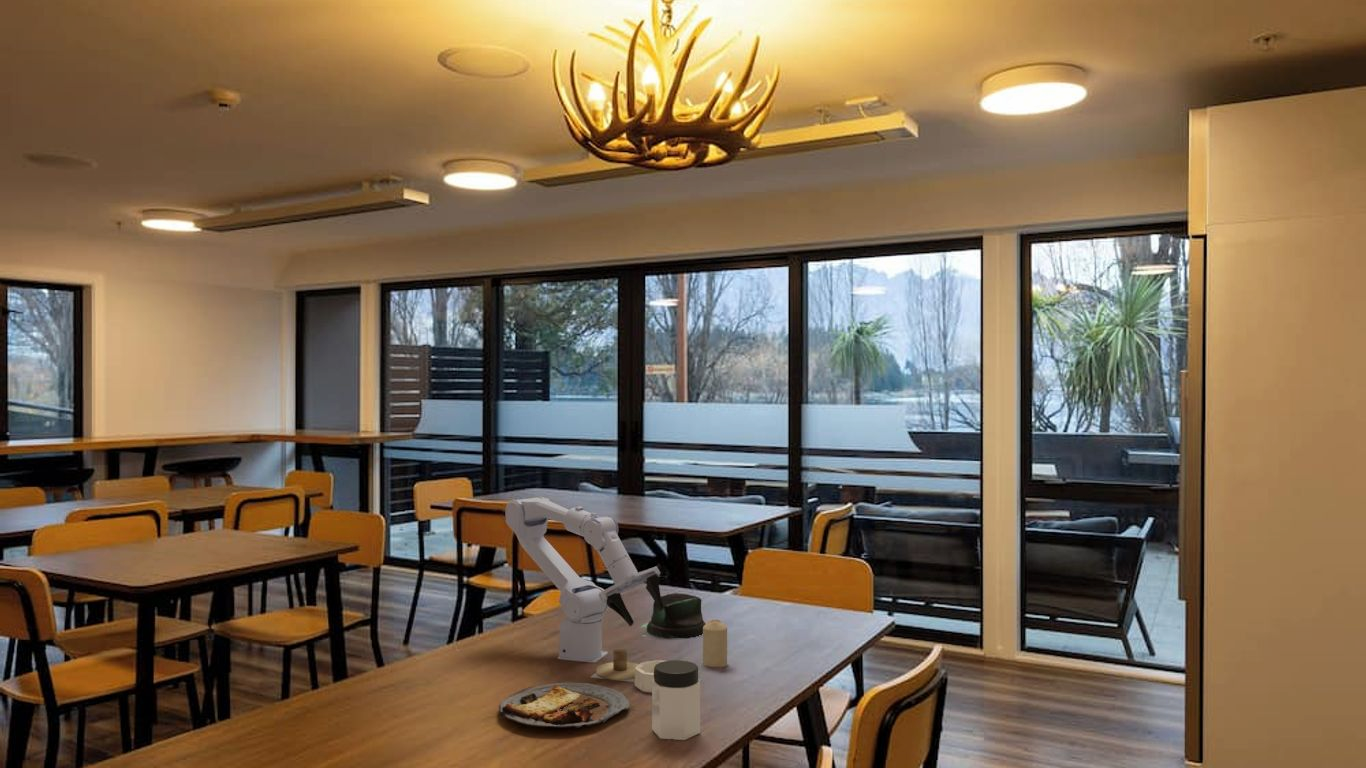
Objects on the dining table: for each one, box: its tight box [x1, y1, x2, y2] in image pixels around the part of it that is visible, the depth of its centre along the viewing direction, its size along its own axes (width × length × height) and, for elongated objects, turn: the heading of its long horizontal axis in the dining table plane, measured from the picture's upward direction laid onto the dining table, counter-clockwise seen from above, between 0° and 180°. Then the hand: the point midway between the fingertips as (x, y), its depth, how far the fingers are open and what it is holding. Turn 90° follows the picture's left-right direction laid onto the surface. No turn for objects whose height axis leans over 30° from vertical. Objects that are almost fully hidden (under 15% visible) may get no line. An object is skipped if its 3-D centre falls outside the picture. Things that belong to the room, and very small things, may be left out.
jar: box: [651, 659, 701, 741], centre depth 170 cm, size 9×8×12 cm
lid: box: [595, 648, 640, 681], centre depth 203 cm, size 10×10×5 cm
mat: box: [590, 672, 635, 683], centre depth 203 cm, size 10×10×1 cm
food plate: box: [498, 682, 631, 729], centre depth 180 cm, size 25×23×4 cm
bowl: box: [634, 659, 666, 693], centre depth 195 cm, size 10×10×4 cm
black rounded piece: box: [640, 592, 706, 639], centre depth 240 cm, size 20×20×9 cm
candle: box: [702, 619, 728, 668], centre depth 210 cm, size 6×6×10 cm
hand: (647, 616), depth 204 cm, fingers open, 7 cm apart
